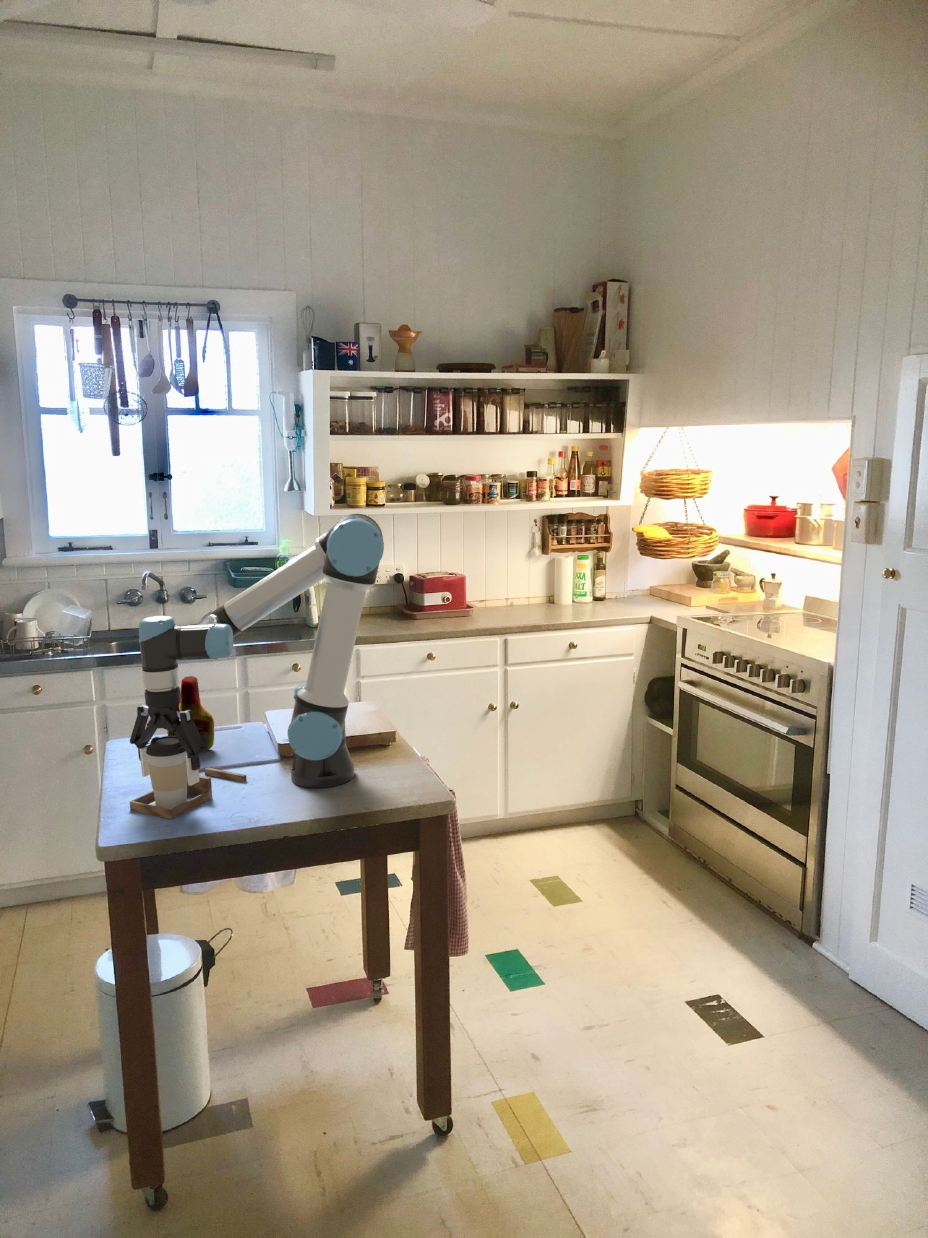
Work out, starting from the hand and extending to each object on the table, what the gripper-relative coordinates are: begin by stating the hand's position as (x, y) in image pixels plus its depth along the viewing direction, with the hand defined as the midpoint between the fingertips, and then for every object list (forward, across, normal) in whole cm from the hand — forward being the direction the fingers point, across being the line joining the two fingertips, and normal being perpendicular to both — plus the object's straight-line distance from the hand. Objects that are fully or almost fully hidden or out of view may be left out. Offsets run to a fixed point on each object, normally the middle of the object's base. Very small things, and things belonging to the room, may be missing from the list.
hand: (170, 779), depth 212 cm
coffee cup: (+6, 0, 0) cm, 6 cm away
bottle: (+6, +21, -30) cm, 37 cm away
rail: (+6, 0, -18) cm, 19 cm away
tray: (+6, 0, 0) cm, 6 cm away
